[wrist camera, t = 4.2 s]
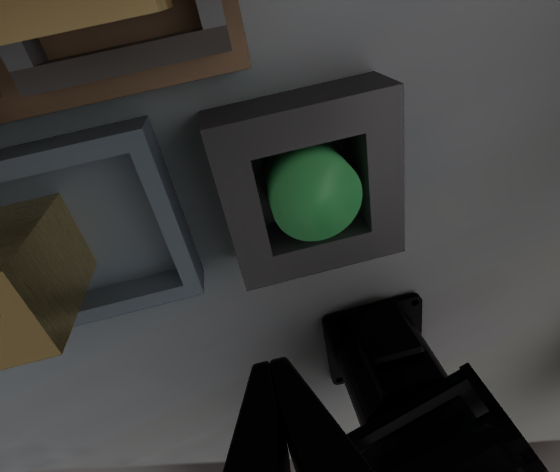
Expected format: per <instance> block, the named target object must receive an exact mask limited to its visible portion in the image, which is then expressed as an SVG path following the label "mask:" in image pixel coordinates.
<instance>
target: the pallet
mask: <svg viewBox="0 0 560 472" xmlns="http://www.w3.org/2000/svg"><path fill="white" fill-rule="evenodd" d="M248 68H252V67H251V62H250V57H249V52H248V47H247V43H246V38H245V33H244V28H243V23H242V18H241V13H240V8H239V3H238V0H0V124H3V123H7V122H12V121H16V120H21V119H25V118H30V117H34V116H39V115H43V114H47V113H52V112H56V111H61V110H65V109H70V108H74V107H79V106H83V105H88V104H92V103H97V102H101V101H105V100H110V99H114V98H119V97H123V96H128V95H132V94H137V93H141V92H146V91H150V90H154V89H159V88H163V87H168V86H172V85H177V84H181V83H186V82H190V81H195V80H199V79H204V78H208V77H212V76H217V75H221V74H226V73H230V72H235V71H239V70H244V69H248Z"/></svg>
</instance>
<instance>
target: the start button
mask: <svg viewBox="0 0 560 472" xmlns="http://www.w3.org/2000/svg"><path fill="white" fill-rule="evenodd" d="M263 185H264V189H265V193H266V195H267V198H268V201H269V204H270V207H271V210H272V213H273V216H274V219H275V221H276V223H277V224H278V226H279V227H280V228H281V230H282V231H284V232H285V233H286V234H287V235H289V236H291V237H293V238H295V239H298V240H302V241H320V240H324V239H328V238H330V237H333V236H335V235H336V234H338V233H340V232H341V231H343V230H344V229H345V228H346V227H347V226H348V225H349V224H350V223H351V222H352V221H353V219H354V218H355V217H356V215H357V213H358V211H359V209H360V206H361V202H362V185H361V181H360V179H359V177H358V175H357V173H356V172H355V171H354V170H353V168H352V167H351V166H350V165H349V164H348V163H347V162H346V161H345V159H344V158H343V157H342V156H341V155H340V154H339V153H338V152H337V150H336V149H335V148H334V147H333V146H332V145H330V144H329V143H328V142H327V143H323V144H318V145H314V146H310V147H306V148H302V149H297V150H293V151H289V152H285V153H280V154H276V155H272V156H270V158H269V159H268V161H267V163H266V166H265V169H264V173H263Z"/></svg>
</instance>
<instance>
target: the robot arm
mask: <svg viewBox="0 0 560 472" xmlns="http://www.w3.org/2000/svg"><path fill="white" fill-rule="evenodd" d="M412 301H413V302H412ZM330 322H332V323H330ZM322 326H323V332H324V338H325V344H326V350H327V356H328V362H329V368H330V374H331V378H332V381H333V383H334V384H336V385H339V384H343V383H345V386H346V388H347V391H348V394H349V396H350V399H351V402H352V404H353V407H354V410H355V412H356V415H357V418H358V420H359V423H360V427H359V428H357V429H355V430H353V431H352V432H350V433H348V434H346V433H345V432H344V431H343V430H342V428H341V427H340V426H339V424H338V423H337V422H336V421H335V419H334V418H333V417H332V415H331V414H330V413H329V412H328V410H327V409H326V408H325V406H324V405H323V404H322V402H321V401H320V400H319V399H318V397H317V396H316V395H315V393H314V392H313V391H312V390H311V388H310V387H309V386H308V384H307V383H306V382H305V381H304V379H303V378H302V377H301V375H300V374H299V373H298V371H297V370H296V369H295V368H294V366H293V365H292V364H291V362H290V361H289V360H288V359H287V358H286V357H281V358H277V359H273V360H271V361H270V363H269V362H268V361H264V362H260V363H256V364H254V365H253V366H252V369H251V373H250V376H249V380H248V383H247V387H246V391H245V394H244V398H243V401H242V405H241V408H240V412H239V416H238V419H237V423H236V426H235V430H234V434H233V437H232V441H231V444H230V448H229V451H228V455H227V459H226V462H225V466H224V469H223V472H291V471H290V460H289V452H290V455H291V459H292V462H293V465H294V468H295V471H296V472H548V470H547V469H546V467H545V466H544V465H543V463H542V462H541V460H540V459H539V458H538V456H537V455H536V454H535V453H534V451H533V449H532V448H531V447H530V445H529V444H528V443H527V441H526V440H525V438H524V437H523V436H522V434H521V433H520V432H519V430H518V429H517V428H516V426H515V425H514V423H513V422H512V421H511V419H510V418H509V417H508V415H507V414H506V413H505V411H504V410H503V409H502V407H501V406H500V405H499V403H498V402H497V401H496V399H495V398H494V397H493V395H492V394H491V393H490V391H489V390H488V389H487V387H486V386H485V384H484V383H483V382H482V380H481V379H480V378H479V376H478V375H477V374H476V372H475V371H474V370H473V368H472V367H471V366H470V364H469V363H466V364H464V365H463V366H461V367H459V368H460V369H459V370H458V371H456V372H454V373H452V374H451V375H449V376H448V375H447V373H446V372H445V370H444V369H443V367H442V366H441V364H440V363H439V361H438V360H437V358H436V357H435V355H434V353H433V352H432V350H431V349H430V347H429V346H428V344H427V343H426V341H425V340H424V338H423V337H422V335H421V332H422V299H421V297H420V296H419V295H418V294H417V293H410V294H407V295H403V296H399V297H395V298H391V299H387V300H383V301H380V302H376V303H372V304H368V305H364V306H360V307H357V308H353V309H349V310H345V311H341V312H337V313H333V314H330V315H327V316H325V317H324V318H323V319H322ZM287 444H288V446H287ZM288 448H289V452H288Z"/></svg>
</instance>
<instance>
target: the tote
mask: <svg viewBox="0 0 560 472" xmlns="http://www.w3.org/2000/svg"><path fill="white" fill-rule="evenodd" d="M56 193H60V195H61V197H62V199H63V200H64V202H65V204H66V206H67V208H68V210H69V212H70V213H71V215H72V217H73V219H74V221H75V223H76V224H77V226H78V228H79V230H80V232H81V234H82V236H83V237H84V239H85V241H86V243H87V245H88V247H89V248H90V250H91V252H92V254H93V256H94V258H95V260H96V261H97V265H96V268H95V271H94V273H93V276H92V278H91V281H90V283H89V286H88V289H87V291H86V294H85V296H84V299H83V302H82V304H81V307H80V309H79V312H78V315H77V317H76V320H75V322H74V325H73V327H75V326H79V325H83V324H86V323H90V322H94V321H98V320H102V319H106V318H110V317H114V316H118V315H122V314H126V313H130V312H134V311H138V310H142V309H146V308H150V307H154V306H158V305H162V304H166V303H169V302H173V301H177V300H181V299H185V298H189V297H193V296H197V295H201V294H204V270H203V267H202V265H201V262H200V259H199V256H198V254H197V251H196V248H195V245H194V242H193V240H192V237H191V234H190V231H189V229H188V226H187V223H186V220H185V218H184V215H183V212H182V209H181V206H180V204H179V201H178V198H177V195H176V193H175V190H174V187H173V184H172V182H171V179H170V176H169V173H168V170H167V168H166V165H165V162H164V159H163V157H162V154H161V151H160V148H159V146H158V143H157V140H156V137H155V134H154V132H153V129H152V126H151V123H150V121H149V118H148V116H144V117H139V118H135V119H131V120H126V121H122V122H117V123H113V124H109V125H104V126H100V127H96V128H91V129H87V130H82V131H78V132H74V133H69V134H65V135H60V136H56V137H52V138H47V139H43V140H38V141H34V142H30V143H25V144H21V145H16V146H12V147H8V148H3V149H0V207H1V206H5V205H9V204H14V203H18V202H22V201H26V200H31V199H35V198H39V197H43V196H48V195H52V194H56Z"/></svg>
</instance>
